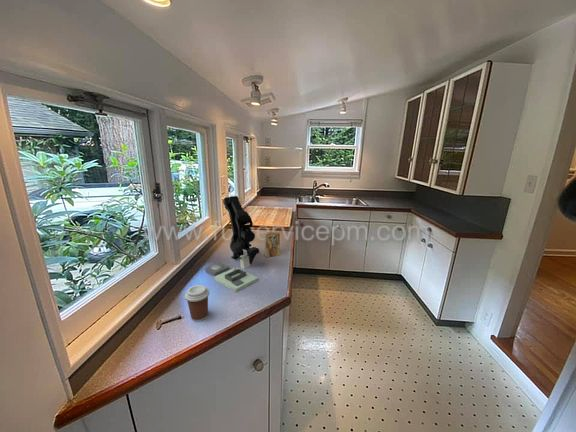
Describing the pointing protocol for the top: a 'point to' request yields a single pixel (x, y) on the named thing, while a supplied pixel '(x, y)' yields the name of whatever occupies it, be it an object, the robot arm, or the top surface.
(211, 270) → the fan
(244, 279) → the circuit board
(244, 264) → the plug
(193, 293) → the coffee cup
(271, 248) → the candy box
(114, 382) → the top surface
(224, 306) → the top surface
